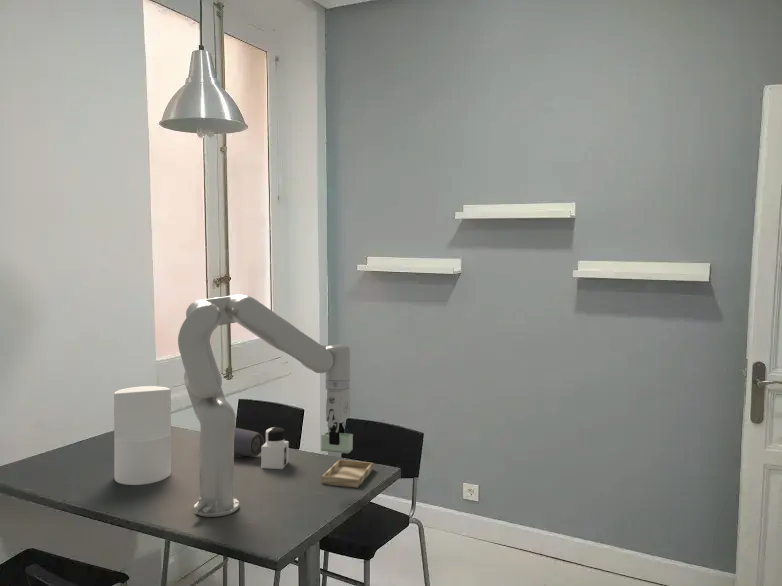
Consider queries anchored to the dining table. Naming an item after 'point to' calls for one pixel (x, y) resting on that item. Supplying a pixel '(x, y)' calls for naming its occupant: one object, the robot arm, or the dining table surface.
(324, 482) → the wooden tray
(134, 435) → the cylinder
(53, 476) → the dining table surface
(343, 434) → the small crate
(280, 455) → the container
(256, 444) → the bluetooth speaker
